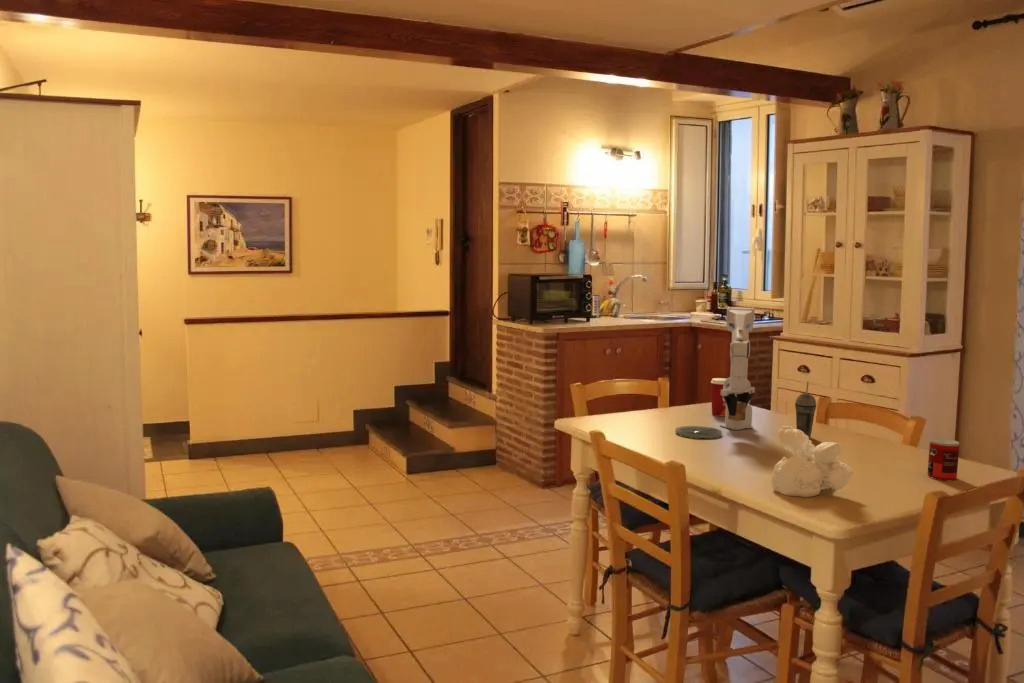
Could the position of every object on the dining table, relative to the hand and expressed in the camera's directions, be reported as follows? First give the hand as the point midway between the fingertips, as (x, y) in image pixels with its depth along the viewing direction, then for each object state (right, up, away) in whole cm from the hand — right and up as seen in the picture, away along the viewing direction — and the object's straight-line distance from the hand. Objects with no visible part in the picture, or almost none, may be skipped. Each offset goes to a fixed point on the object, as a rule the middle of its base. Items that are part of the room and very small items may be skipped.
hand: (736, 414), depth 314 cm
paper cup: (+4, -4, +43) cm, 43 cm away
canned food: (+50, -15, -45) cm, 69 cm away
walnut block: (0, -2, 0) cm, 2 cm away
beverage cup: (+25, -9, +5) cm, 27 cm away
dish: (-12, -7, +7) cm, 16 cm away
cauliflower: (+5, -16, -62) cm, 64 cm away
